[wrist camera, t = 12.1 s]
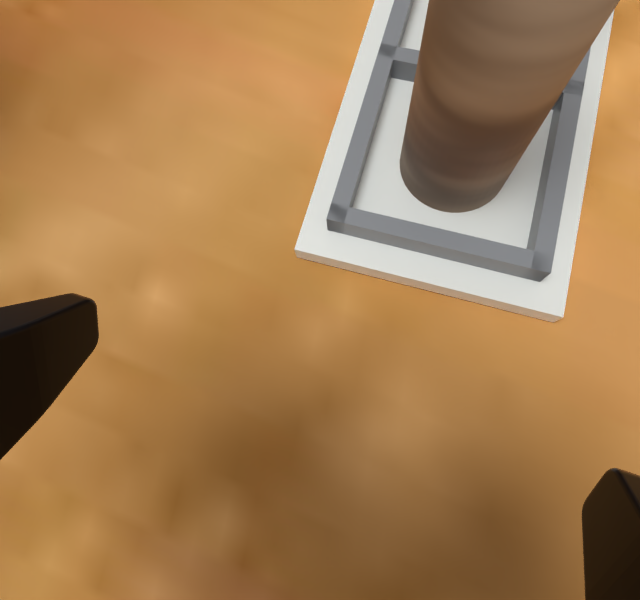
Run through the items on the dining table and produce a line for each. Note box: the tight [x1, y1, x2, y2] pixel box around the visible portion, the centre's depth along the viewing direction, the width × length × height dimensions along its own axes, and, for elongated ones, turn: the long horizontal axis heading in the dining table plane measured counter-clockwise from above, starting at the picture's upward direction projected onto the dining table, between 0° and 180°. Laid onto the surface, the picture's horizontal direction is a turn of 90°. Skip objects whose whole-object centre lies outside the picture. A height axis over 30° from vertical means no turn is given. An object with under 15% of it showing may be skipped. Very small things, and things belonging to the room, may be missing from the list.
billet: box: [400, 0, 620, 213], centre depth 16 cm, size 5×5×14 cm
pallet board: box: [295, 0, 614, 323], centre depth 23 cm, size 21×12×2 cm, turn 164°
